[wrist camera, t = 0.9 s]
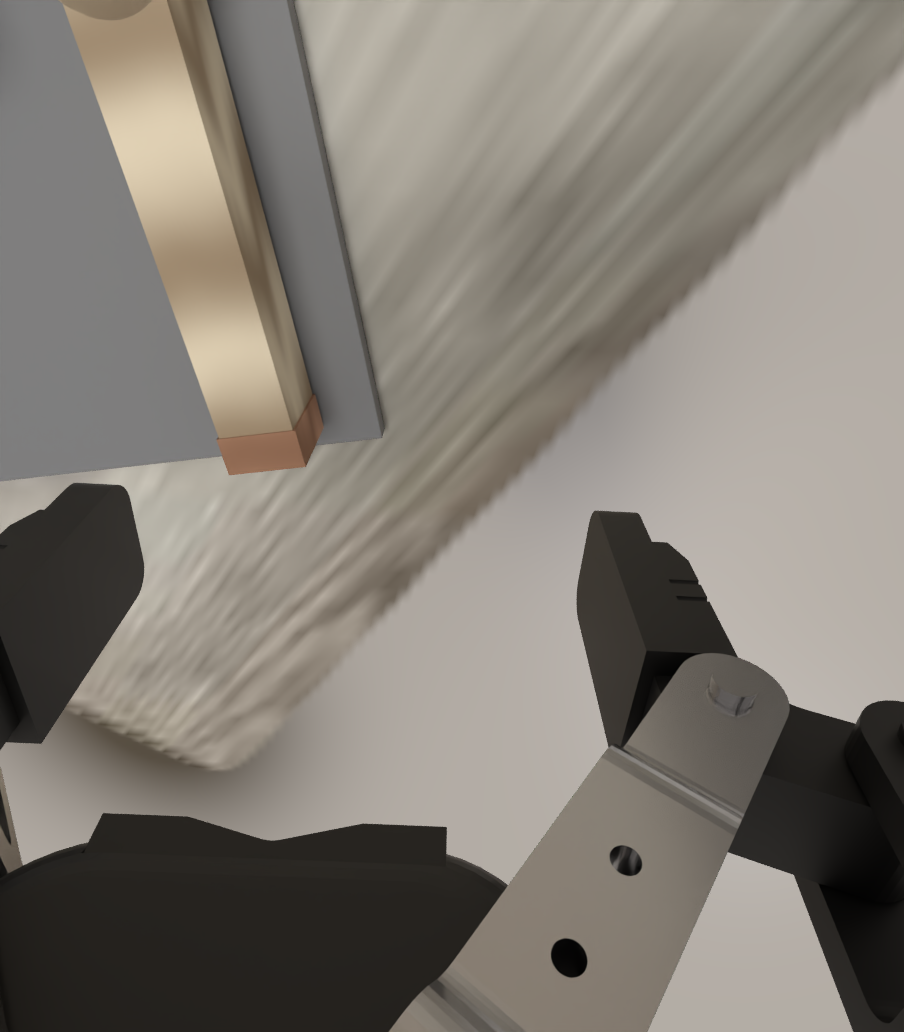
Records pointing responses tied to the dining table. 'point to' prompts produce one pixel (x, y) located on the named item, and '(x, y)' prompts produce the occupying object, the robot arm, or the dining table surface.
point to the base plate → (150, 256)
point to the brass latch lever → (202, 220)
